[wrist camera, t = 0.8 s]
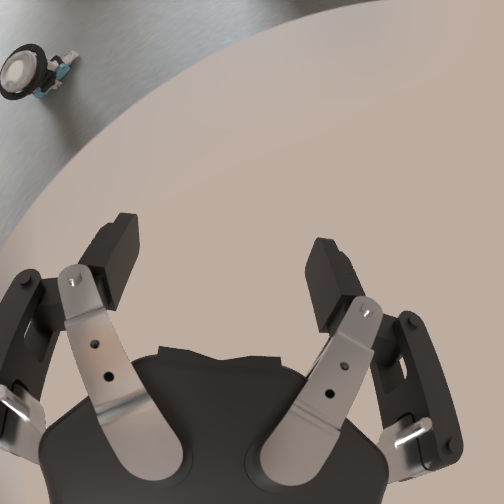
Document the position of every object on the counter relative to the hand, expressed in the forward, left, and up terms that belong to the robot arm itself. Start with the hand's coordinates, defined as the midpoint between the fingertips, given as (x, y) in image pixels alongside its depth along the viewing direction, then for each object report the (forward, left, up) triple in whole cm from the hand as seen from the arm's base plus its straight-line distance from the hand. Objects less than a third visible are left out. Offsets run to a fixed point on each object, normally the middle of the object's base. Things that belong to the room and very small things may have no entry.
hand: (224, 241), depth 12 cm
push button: (-20, -1, -22) cm, 30 cm away
